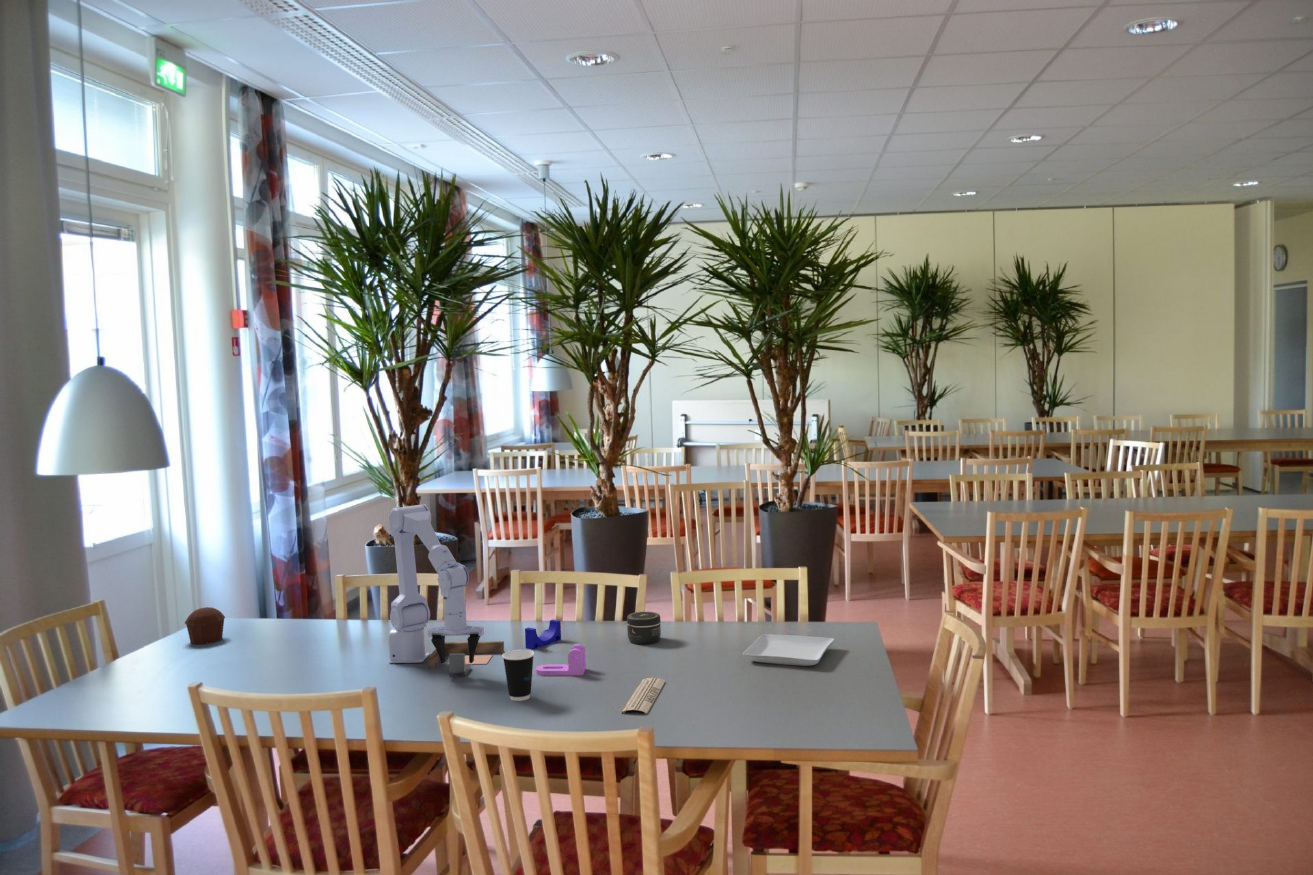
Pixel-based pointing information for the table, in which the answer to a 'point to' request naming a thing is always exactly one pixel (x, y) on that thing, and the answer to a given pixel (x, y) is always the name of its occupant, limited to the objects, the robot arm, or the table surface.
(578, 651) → the bracket
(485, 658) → the mat
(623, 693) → the table surface
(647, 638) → the jar
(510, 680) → the dixie cup
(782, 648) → the salad plate
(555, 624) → the blue cradle block
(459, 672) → the angle bracket
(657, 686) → the newspaper
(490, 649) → the corner walls
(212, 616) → the muffin
